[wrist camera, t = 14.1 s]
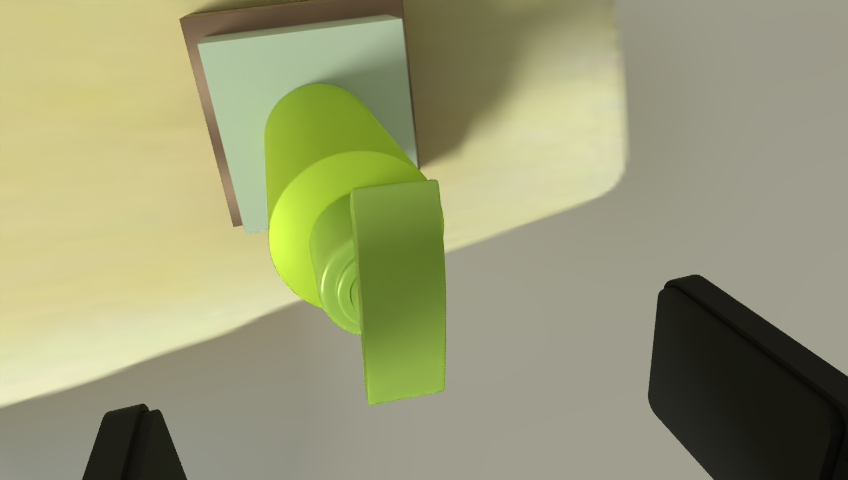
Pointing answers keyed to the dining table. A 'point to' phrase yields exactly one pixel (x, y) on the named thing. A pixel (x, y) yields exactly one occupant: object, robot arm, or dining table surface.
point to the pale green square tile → (295, 67)
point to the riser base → (325, 5)
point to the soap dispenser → (359, 235)
